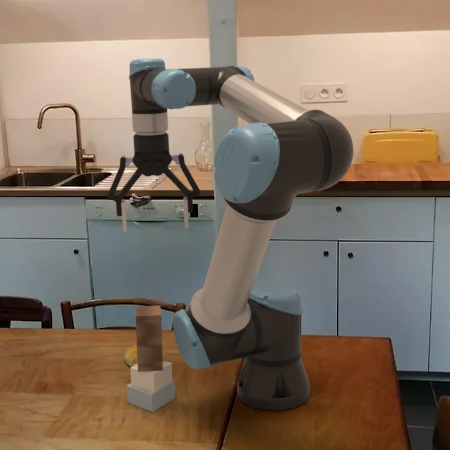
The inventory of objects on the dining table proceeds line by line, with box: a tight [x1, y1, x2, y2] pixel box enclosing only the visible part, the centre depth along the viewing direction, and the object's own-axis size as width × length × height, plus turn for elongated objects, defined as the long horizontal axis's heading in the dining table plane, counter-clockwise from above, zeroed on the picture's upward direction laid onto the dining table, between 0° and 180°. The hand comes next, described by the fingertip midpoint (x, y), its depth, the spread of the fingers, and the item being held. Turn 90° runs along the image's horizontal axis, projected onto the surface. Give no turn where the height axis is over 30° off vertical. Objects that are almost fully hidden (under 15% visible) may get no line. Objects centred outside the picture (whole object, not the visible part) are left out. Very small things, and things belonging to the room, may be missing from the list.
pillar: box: [135, 305, 164, 372], centre depth 142 cm, size 5×5×12 cm
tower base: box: [126, 380, 176, 413], centre depth 145 cm, size 7×7×4 cm
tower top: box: [129, 360, 174, 393], centre depth 144 cm, size 6×6×4 cm
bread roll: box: [124, 343, 138, 368], centre depth 164 cm, size 8×9×4 cm
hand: (155, 228), depth 156 cm, fingers open, 13 cm apart
